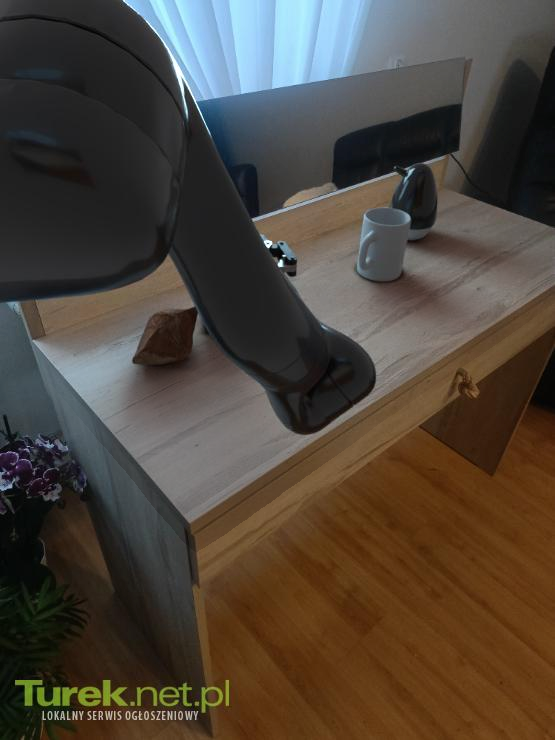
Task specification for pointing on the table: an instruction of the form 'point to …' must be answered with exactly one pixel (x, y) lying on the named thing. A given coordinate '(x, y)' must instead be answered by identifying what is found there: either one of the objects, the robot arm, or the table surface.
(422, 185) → the pump dispenser
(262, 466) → the table surface
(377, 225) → the mug
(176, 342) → the fossil
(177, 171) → the robot arm
